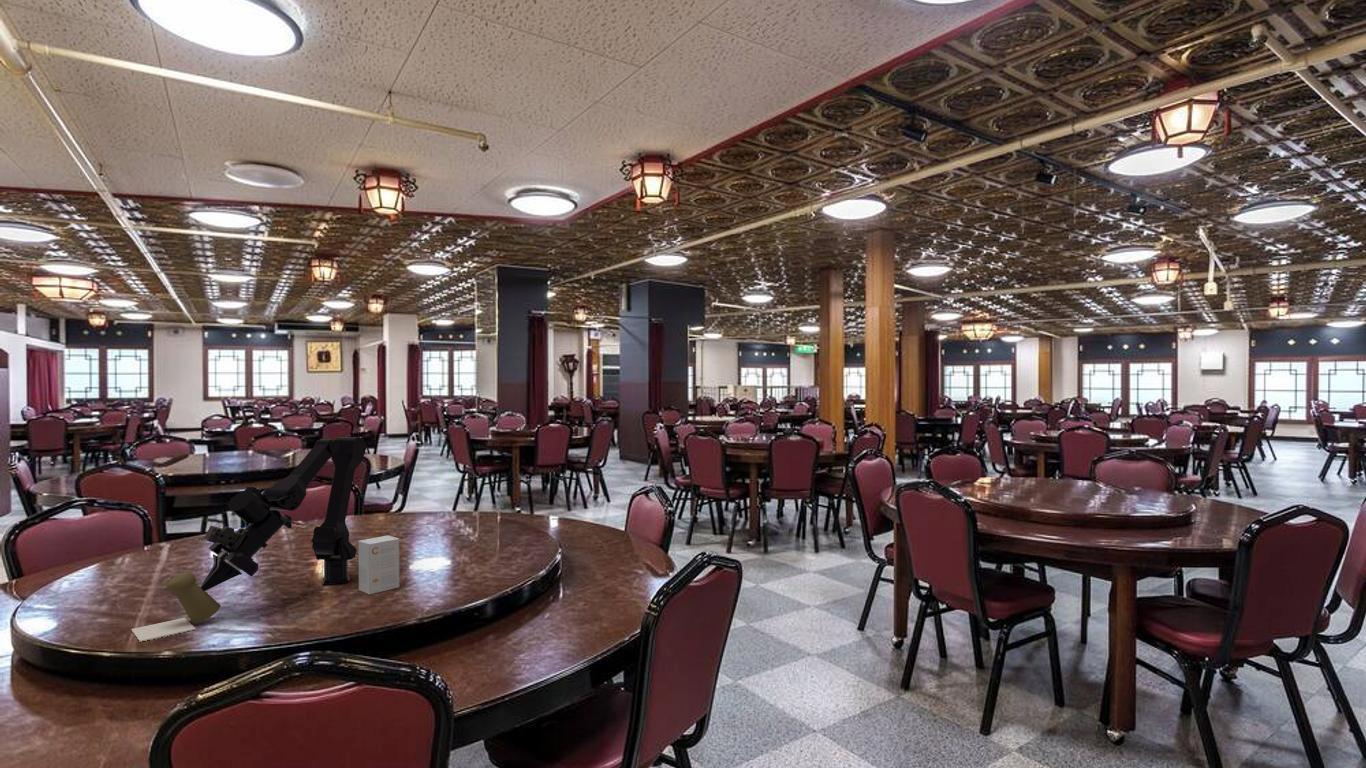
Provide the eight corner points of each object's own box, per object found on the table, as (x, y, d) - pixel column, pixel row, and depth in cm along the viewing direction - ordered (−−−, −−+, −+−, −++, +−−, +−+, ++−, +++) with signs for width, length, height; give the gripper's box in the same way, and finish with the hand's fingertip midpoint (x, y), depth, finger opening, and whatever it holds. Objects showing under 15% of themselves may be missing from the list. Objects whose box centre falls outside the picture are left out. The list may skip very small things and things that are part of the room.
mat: (184, 619, 152) (184, 617, 152) (195, 630, 145) (195, 628, 145) (131, 630, 145) (131, 629, 145) (139, 642, 138) (139, 640, 138)
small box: (388, 583, 179) (388, 534, 180) (400, 587, 175) (399, 538, 175) (357, 590, 173) (357, 540, 173) (369, 595, 169) (369, 543, 169)
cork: (226, 603, 152) (197, 566, 148) (204, 623, 147) (172, 585, 143) (209, 606, 154) (180, 569, 151) (186, 626, 149) (155, 588, 145)
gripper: (219, 507, 160) (161, 562, 152) (242, 517, 148) (180, 577, 139) (256, 534, 166) (203, 589, 158) (281, 546, 153) (224, 606, 145)
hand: (202, 589), depth 150 cm, fingers closed
